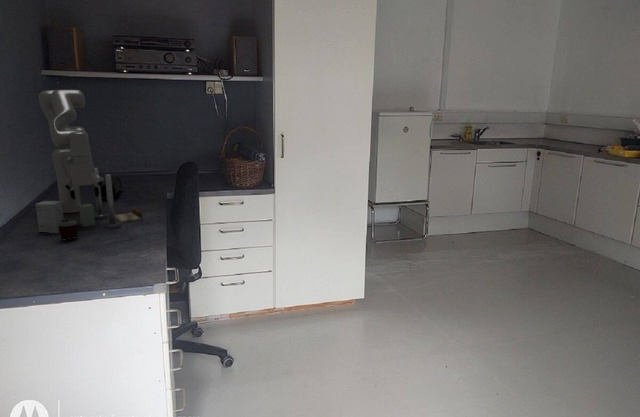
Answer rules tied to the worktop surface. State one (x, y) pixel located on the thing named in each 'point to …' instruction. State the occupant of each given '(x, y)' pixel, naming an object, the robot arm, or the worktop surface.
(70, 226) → the mate gourd
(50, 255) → the worktop surface
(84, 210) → the green block
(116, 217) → the breaker board
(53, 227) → the small box
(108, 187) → the near post
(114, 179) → the muzzle brake
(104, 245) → the worktop surface
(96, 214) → the far post
